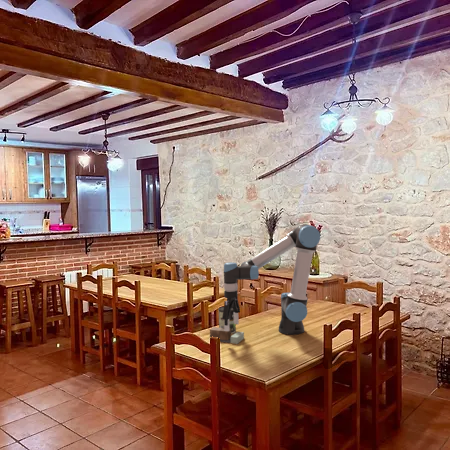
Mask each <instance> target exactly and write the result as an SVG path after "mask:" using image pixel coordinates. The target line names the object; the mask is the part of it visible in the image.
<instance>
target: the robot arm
mask: <svg viewBox="0 0 450 450" xmlns="http://www.w3.org/2000/svg"><path fill="white" fill-rule="evenodd" d="M320 241H321V233H320V231H319V229H318V228H317V227H315V226H314V225H311V224H306V223H303V224H300V225H298V226H297V227H295V228H294V229H292V230H291V231H290V232H288V233H287V234H286V236H285V237H283V238H282V239H281V240H279V241H277V242H275V243H274V244H272V245H270V246H269V247H267V248H266V249H264V250H263V251H261V252H260V253H258V254H257V255H254V256H253V257H252V258H250V259H248V260H247V261H244V262H242V263H241V264H240V265H238V263H237V262H235V261H234V262H232V261H231V262H225V263H224V264H223V288H224V291H223V294H224V298H225V299H226V300H225V301H224V303H223V304H224V305H223V307H224V310H223V317H222V319H224V331H230V330H229V315H230V311H231V309H232V308H233V310H234V312H235V313H234V324H236V325H239V324H240V323H239V314H240V312H241V311H240V310H241V309H240V305H239V304H240V303H239V299H238V296H239V295H238V294H239V293H238V288H239V287H238V280H239V281H240V280H241V281H242V280H258V279H259V273H260V271H259V270H260V269H261V268H262V267H264V266H265V265H268V264H269V263H271V262H272V261H274V260H276V259H277V258H279V257H280V256H282V255H284V254H285V253H287V252H288V251H290V250H292V249H293V248H295V249H296V251H297V252H296V257H295V264H294V269H293V275H292V281H291V287H290V292H282V293H281V295H280V300H281V301H280V304H281V305H280V307H281V317H280V322H279V326H278V332H279V333H280V334H284V335H293V336H294V335H301V334H303V333H304V332H305V325H304V323H303V321H304V320H305V319H306V317H307V315H308V307H307V306H308V305H307V304H308V299H309V298H308V297H307V289H308V283H309V277H310V271H311V266H312V259H313V255H314V253H315V252H317V247H318V244H319V243H320Z"/></svg>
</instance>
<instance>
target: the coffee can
mask: <svg viewBox="0 0 450 450" xmlns="http://www.w3.org/2000/svg"><path fill="white" fill-rule="evenodd" d="M223 310H224V306H220V307H218V328H224V319H222V317H223ZM234 313H235V312H234V310H233V308H232V309H231V311H230V315H229V329H231V335H233V334H235V333H236V332H237V327H236V325H237V324H234Z"/></svg>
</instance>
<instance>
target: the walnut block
mask: <svg viewBox="0 0 450 450" xmlns="http://www.w3.org/2000/svg"><path fill="white" fill-rule="evenodd" d="M229 330H230V331H224V328H219V327H218V326H217V327H216V326H213V327H211V328H210V329H209V338H210V337H212V336H213V337H218V338H220V339H221V340H229V339H230V338H231V336H232V334H231V329H229Z"/></svg>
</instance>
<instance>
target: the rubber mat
mask: <svg viewBox="0 0 450 450" xmlns="http://www.w3.org/2000/svg"><path fill="white" fill-rule="evenodd" d="M220 341H221V342H220V343H228V344H231V338H230V339H229V340H221V339H220Z"/></svg>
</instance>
